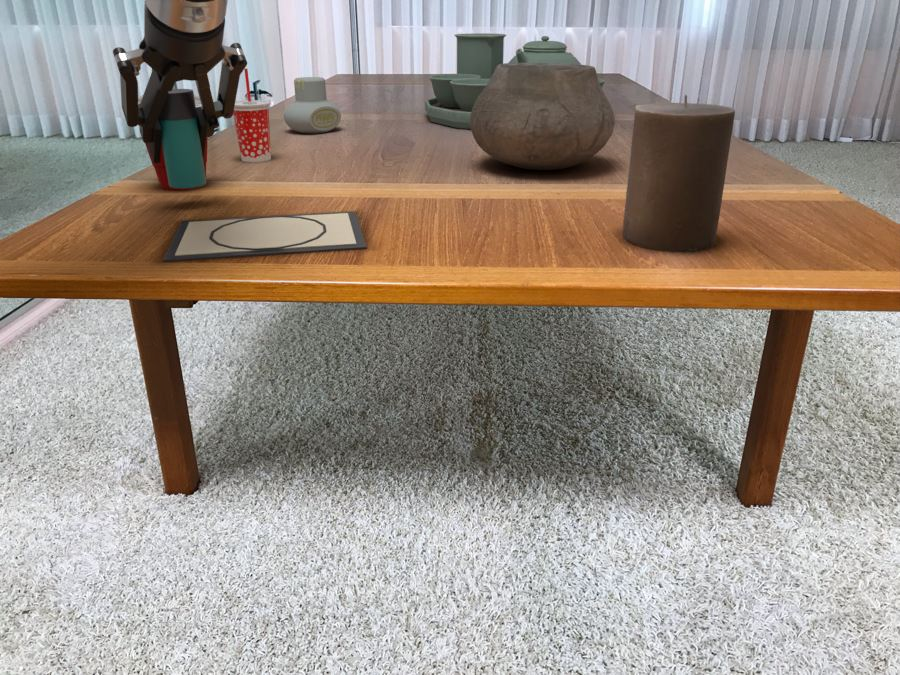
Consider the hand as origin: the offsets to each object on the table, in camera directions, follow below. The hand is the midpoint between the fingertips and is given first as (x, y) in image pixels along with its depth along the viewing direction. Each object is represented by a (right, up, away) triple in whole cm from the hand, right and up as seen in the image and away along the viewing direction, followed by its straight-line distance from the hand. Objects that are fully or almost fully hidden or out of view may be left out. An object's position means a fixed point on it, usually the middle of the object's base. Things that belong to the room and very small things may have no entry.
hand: (176, 151), depth 90 cm
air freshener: (+8, +17, +51) cm, 54 cm away
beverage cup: (+3, +5, +26) cm, 27 cm away
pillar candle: (+58, -13, -13) cm, 61 cm away
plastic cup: (-2, -3, +9) cm, 10 cm away
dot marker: (+2, -4, -1) cm, 5 cm away
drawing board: (+15, -12, -12) cm, 23 cm away
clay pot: (+48, +3, +20) cm, 52 cm away
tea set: (+49, +24, +66) cm, 86 cm away
